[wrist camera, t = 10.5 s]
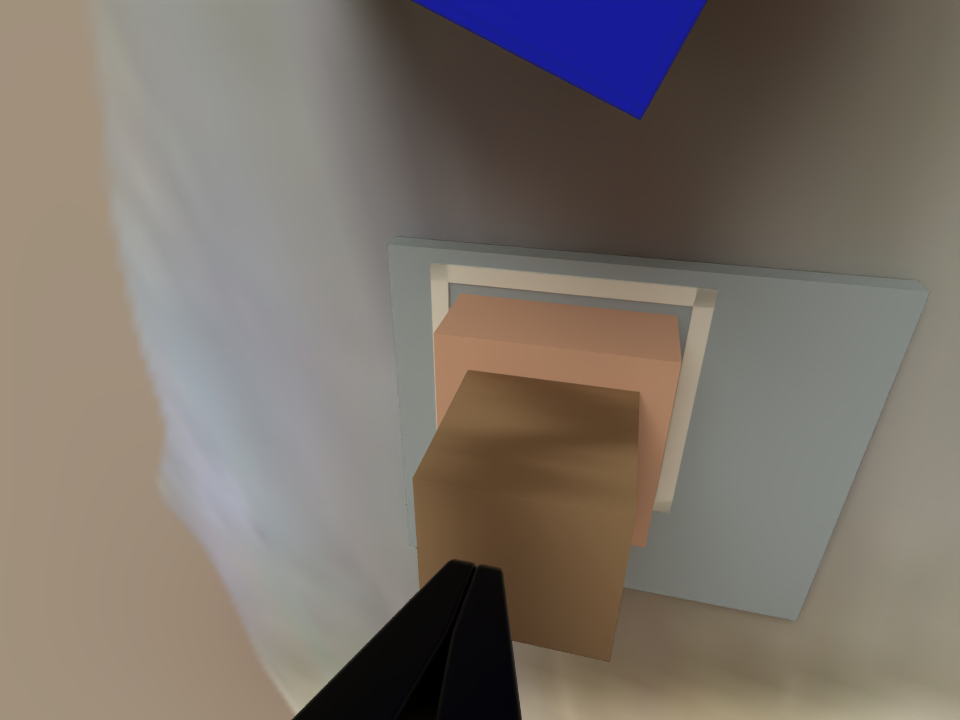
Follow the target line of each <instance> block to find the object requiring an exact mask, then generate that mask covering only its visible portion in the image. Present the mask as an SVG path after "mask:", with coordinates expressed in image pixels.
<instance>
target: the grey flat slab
mask: <svg viewBox="0 0 960 720" xmlns="http://www.w3.org/2000/svg"><path fill="white" fill-rule="evenodd" d="M387 250H388V263H389V276H390V289H391V302H392V316H393V329H394V342H395V355H396V368H397V381H398V394H399V408H400V421H401V434H402V447H403V460H404V473H405V486H406V500H407V513H408V526H409V539H410V546H413V547H417V539H416V525H415V510H414V495H413V480H412V478H413V476H414V474H415V472H416V470H417V468H418V466H419V464H420V463H421V461H422V459H423V457H424V455H425V453H426V451H427V449H428V447H429V445H430V443H431V441H432V439H433V437H434V435H435V433H436V431H437V411H436V386H435V361H434V335H433V333H434V332H435V330H436V329H437V327H438V326H439V324H440V323H441V322H442V320H443V319H444V317H445V316H446V314H447V313H448V311H449V310H450V308H451V307H452V305H453V304H454V302H455V301H456V299H457V298H458V296H459V295H460V293H461V294H471V295H481V296H491V297H500V298H510V299H520V300H530V301H539V302H549V303H559V304H569V305H578V306H588V307H598V308H608V309H617V310H627V311H637V312H647V313H656V314H666V315H676V316H678V327H679V338H680V349H681V361H682V364H681V369H680V374H679V379H678V384H677V389H676V394H675V399H674V404H673V409H672V414H671V420H670V425H669V430H668V435H667V440H666V445H665V450H664V455H663V460H662V465H661V470H660V476H659V481H658V486H657V491H656V496H655V501H654V506H653V511H652V516H651V521H650V526H649V531H648V537H647V542H646V547H639V546H634V545H631V547H630V553H629V558H628V564H627V570H626V575H625V581H624V586H623V587H624V588H629V589H635V590H640V591H645V592H650V593H655V594H660V595H665V596H671V597H676V598H681V599H686V600H691V601H696V602H701V603H707V604H712V605H717V606H722V607H727V608H732V609H737V610H743V611H748V612H753V613H758V614H763V615H768V616H773V617H779V618H784V619H789V620H794V621H797V618H798V616H799V613H800V611H801V608H802V606H803V603H804V601H805V598H806V596H807V594H808V591H809V589H810V586H811V584H812V581H813V579H814V576H815V574H816V571H817V569H818V566H819V564H820V562H821V559H822V557H823V554H824V552H825V549H826V547H827V544H828V542H829V539H830V537H831V535H832V532H833V530H834V527H835V525H836V522H837V520H838V517H839V515H840V512H841V510H842V507H843V505H844V503H845V500H846V498H847V495H848V493H849V490H850V488H851V485H852V483H853V480H854V478H855V475H856V473H857V471H858V468H859V466H860V463H861V461H862V458H863V456H864V453H865V451H866V448H867V446H868V443H869V441H870V439H871V436H872V434H873V431H874V429H875V426H876V424H877V421H878V419H879V416H880V414H881V411H882V409H883V407H884V404H885V402H886V399H887V397H888V394H889V392H890V389H891V387H892V384H893V382H894V380H895V377H896V375H897V372H898V370H899V367H900V365H901V362H902V360H903V357H904V355H905V352H906V350H907V348H908V345H909V343H910V340H911V338H912V335H913V333H914V330H915V328H916V325H917V323H918V320H919V318H920V316H921V313H922V311H923V308H924V306H925V303H926V301H927V298H928V296H929V293H930V291H929V290H928V289H927V288H926V287H925V286H924V285H923V284H922V283H921V282H920V281H914V280H902V279H890V278H879V277H867V276H855V275H843V274H831V273H820V272H808V271H796V270H784V269H772V268H760V267H749V266H737V265H725V264H713V263H701V262H690V261H678V260H666V259H654V258H642V257H630V256H619V255H607V254H595V253H583V252H571V251H560V250H548V249H536V248H524V247H512V246H501V245H489V244H477V243H465V242H453V241H441V240H430V239H418V238H406V237H395V238H394V239H392V240H391V241H390V242H389V243H388V244H387Z"/></svg>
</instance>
